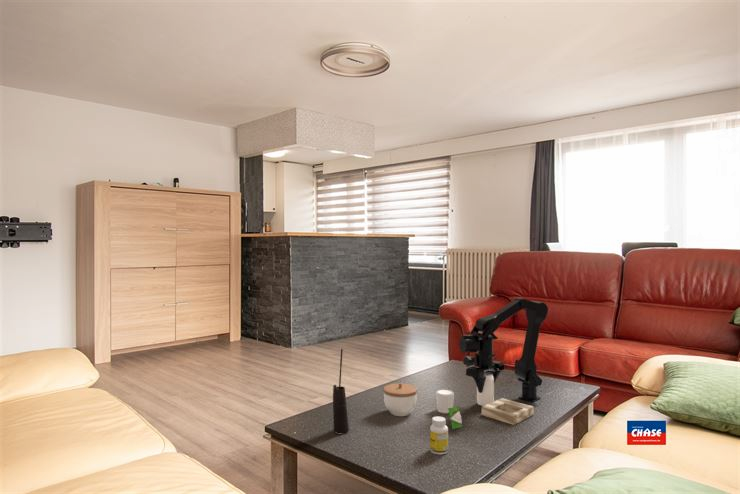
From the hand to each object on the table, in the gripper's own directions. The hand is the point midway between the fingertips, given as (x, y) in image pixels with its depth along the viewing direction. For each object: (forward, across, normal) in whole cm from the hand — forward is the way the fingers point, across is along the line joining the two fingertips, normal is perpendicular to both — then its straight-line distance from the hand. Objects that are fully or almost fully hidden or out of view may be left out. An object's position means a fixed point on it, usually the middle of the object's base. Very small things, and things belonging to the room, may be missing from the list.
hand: (485, 390), depth 180 cm
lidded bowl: (+5, +31, -17) cm, 36 cm away
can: (+5, 0, 0) cm, 5 cm away
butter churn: (+5, +58, -20) cm, 61 cm away
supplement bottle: (+6, +46, +13) cm, 48 cm away
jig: (+5, +4, +12) cm, 14 cm away
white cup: (+6, +17, -7) cm, 19 cm away
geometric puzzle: (+6, +27, +5) cm, 28 cm away
